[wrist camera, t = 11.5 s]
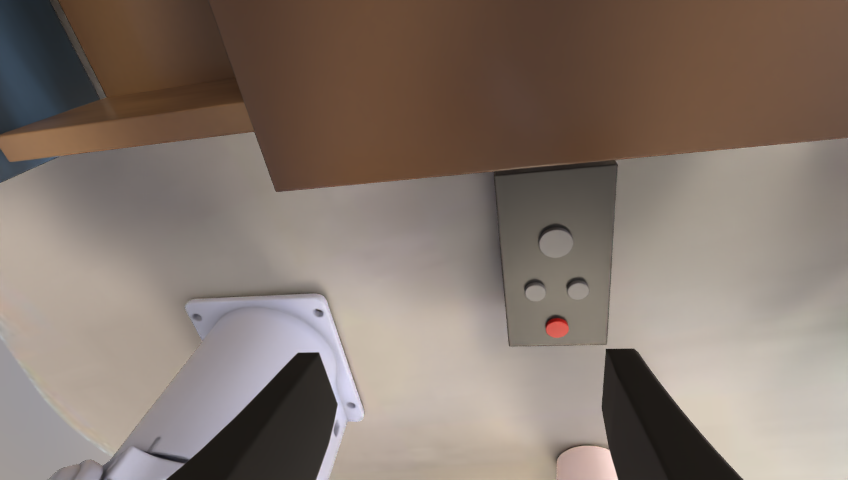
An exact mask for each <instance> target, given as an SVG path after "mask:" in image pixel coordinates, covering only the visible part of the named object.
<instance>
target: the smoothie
mask: <svg viewBox="0 0 848 480" xmlns="http://www.w3.org/2000/svg"><path fill="white" fill-rule="evenodd" d="M557 480H618V478H617V474H616V471H615V467H614V464H613V461H612V457H611V454H610V450H608V449H605V448H602V447H598V446H579V447H574V448H571V449H569V450H567V451H565V452H563V453H562V454H561V455H560V456H559V458H558V460H557Z"/></svg>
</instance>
